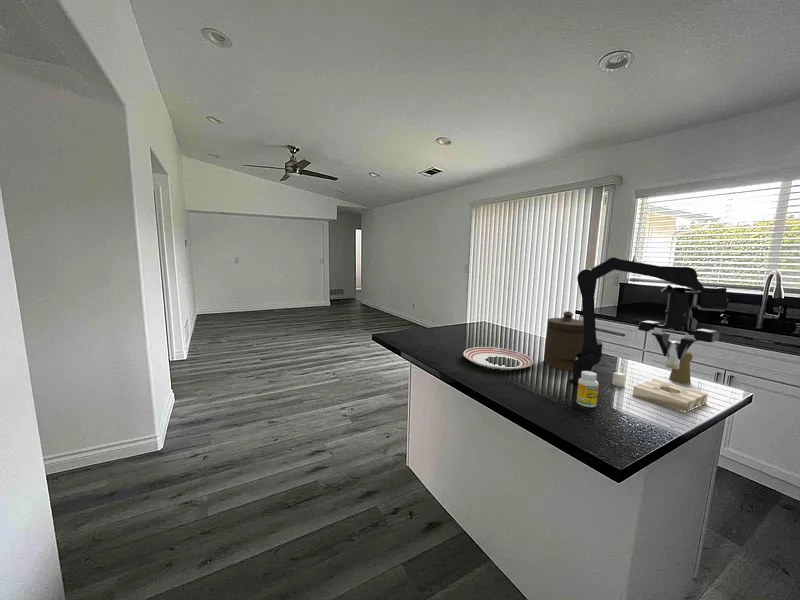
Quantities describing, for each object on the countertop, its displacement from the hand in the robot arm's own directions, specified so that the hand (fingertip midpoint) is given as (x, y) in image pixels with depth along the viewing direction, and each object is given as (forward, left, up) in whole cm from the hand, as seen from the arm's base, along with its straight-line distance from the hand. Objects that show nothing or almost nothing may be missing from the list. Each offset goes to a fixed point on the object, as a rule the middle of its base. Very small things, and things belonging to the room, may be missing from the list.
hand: (672, 357), depth 106 cm
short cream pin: (-2, +14, -13) cm, 19 cm away
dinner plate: (-22, +51, -14) cm, 57 cm away
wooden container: (+1, +37, -13) cm, 39 cm away
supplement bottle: (-27, +10, -13) cm, 32 cm away
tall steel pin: (0, 0, -3) cm, 3 cm away
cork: (+23, +6, -13) cm, 27 cm away
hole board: (0, 0, -13) cm, 13 cm away
